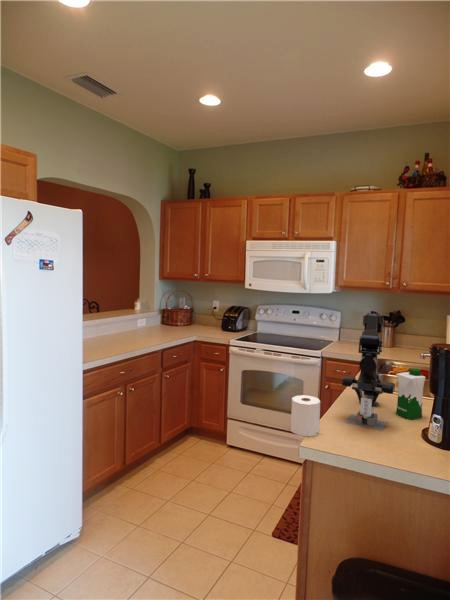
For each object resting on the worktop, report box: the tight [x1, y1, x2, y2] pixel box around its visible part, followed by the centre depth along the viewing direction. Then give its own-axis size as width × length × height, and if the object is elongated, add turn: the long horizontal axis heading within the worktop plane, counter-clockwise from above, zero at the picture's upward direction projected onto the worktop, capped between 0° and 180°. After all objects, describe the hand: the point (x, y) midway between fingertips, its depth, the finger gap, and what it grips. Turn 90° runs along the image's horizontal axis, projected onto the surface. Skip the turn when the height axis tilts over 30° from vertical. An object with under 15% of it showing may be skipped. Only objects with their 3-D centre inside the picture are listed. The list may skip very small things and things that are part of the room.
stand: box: [344, 410, 388, 432], centre depth 156 cm, size 10×14×4 cm
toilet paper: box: [290, 394, 321, 437], centre depth 149 cm, size 10×10×12 cm
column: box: [359, 395, 374, 419], centre depth 155 cm, size 5×4×8 cm
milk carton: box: [395, 368, 426, 421], centre depth 163 cm, size 9×9×20 cm
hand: (367, 405), depth 155 cm, fingers closed on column, 4 cm apart
